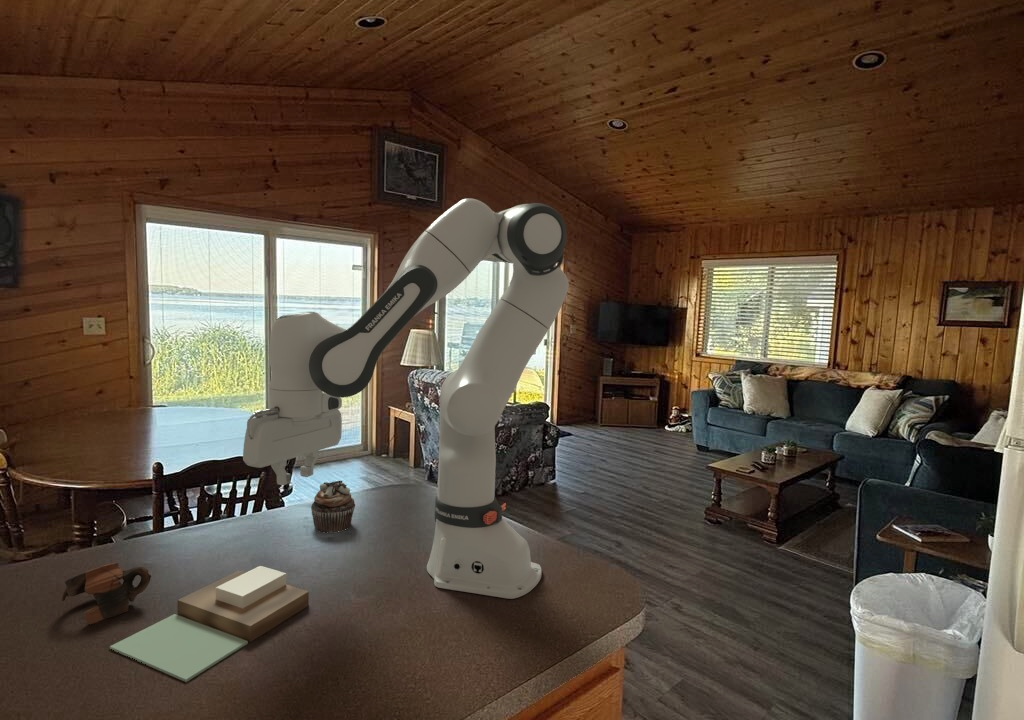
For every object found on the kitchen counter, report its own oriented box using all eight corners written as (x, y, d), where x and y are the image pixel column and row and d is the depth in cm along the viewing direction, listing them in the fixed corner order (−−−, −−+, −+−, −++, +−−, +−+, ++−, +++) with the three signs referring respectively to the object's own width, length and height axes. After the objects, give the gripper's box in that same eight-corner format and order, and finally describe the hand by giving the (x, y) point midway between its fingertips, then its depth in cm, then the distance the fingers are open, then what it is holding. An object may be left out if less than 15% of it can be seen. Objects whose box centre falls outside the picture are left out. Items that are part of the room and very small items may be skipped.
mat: (247, 643, 86) (247, 641, 86) (186, 682, 77) (186, 679, 77) (174, 616, 93) (174, 613, 93) (109, 649, 84) (109, 646, 84)
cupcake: (303, 524, 132) (303, 482, 132) (342, 515, 139) (343, 474, 138) (321, 538, 126) (322, 493, 125) (362, 528, 132) (363, 485, 131)
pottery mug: (64, 636, 87) (50, 583, 89) (80, 632, 95) (67, 584, 97) (154, 599, 93) (140, 549, 95) (162, 598, 101) (149, 553, 103)
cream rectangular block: (260, 576, 102) (260, 565, 102) (286, 584, 100) (286, 573, 99) (215, 599, 94) (215, 587, 94) (242, 608, 91) (242, 596, 91)
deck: (308, 605, 98) (308, 591, 98) (250, 642, 87) (250, 626, 87) (239, 583, 104) (239, 570, 104) (177, 614, 93) (177, 600, 93)
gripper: (262, 414, 92) (262, 499, 93) (348, 398, 110) (346, 468, 112) (233, 410, 94) (233, 493, 96) (322, 394, 113) (321, 464, 114)
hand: (295, 479), depth 104 cm, fingers open, 4 cm apart
